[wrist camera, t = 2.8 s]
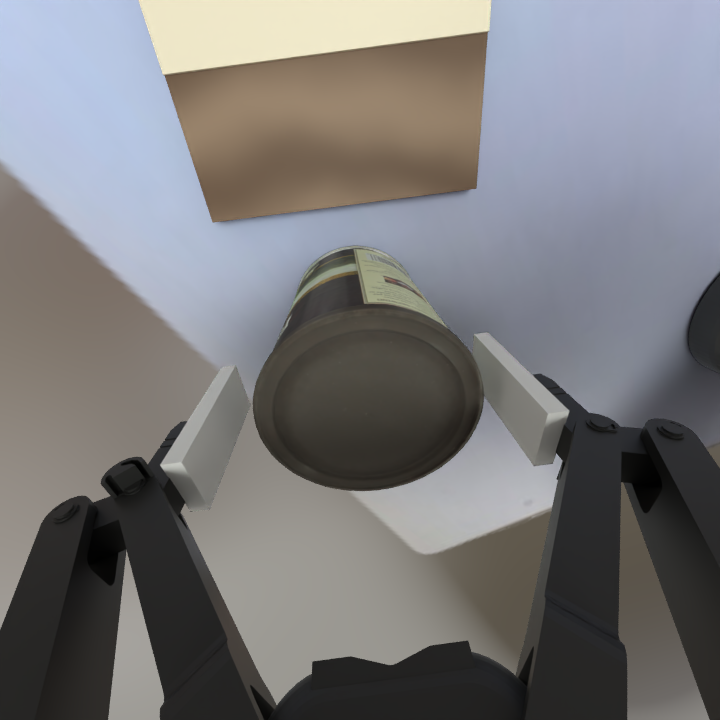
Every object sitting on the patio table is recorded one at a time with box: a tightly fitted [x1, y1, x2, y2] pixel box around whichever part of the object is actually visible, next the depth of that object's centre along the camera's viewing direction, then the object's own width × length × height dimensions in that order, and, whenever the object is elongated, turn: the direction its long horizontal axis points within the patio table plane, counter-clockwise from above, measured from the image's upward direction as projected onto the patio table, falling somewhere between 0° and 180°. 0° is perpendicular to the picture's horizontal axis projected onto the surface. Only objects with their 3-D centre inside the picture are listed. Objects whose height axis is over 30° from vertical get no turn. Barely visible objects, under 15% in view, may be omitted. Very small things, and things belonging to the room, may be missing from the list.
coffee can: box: [253, 246, 484, 491], centre depth 20 cm, size 10×10×14 cm
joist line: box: [139, 0, 491, 75], centre depth 16 cm, size 3×18×1 cm, turn 96°
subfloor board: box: [165, 33, 488, 222], centre depth 17 cm, size 16×18×2 cm
